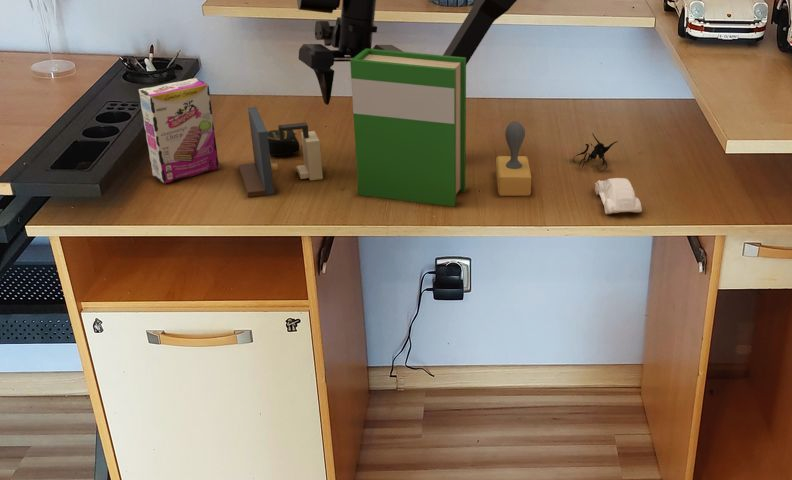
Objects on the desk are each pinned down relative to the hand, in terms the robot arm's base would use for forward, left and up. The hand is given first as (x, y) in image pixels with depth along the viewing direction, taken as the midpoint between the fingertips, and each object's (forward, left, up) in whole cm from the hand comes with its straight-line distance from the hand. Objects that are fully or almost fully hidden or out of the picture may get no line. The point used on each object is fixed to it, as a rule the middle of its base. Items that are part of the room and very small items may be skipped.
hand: (349, 103), depth 164 cm
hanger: (+9, +3, -13) cm, 16 cm away
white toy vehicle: (-46, +20, -13) cm, 52 cm away
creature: (-46, +3, -13) cm, 48 cm away
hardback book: (-10, +12, -13) cm, 20 cm away
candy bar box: (+30, 0, -13) cm, 33 cm away
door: (+16, +4, -13) cm, 21 cm away
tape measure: (+13, -9, -13) cm, 21 cm away
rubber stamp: (-29, +11, -13) cm, 33 cm away
